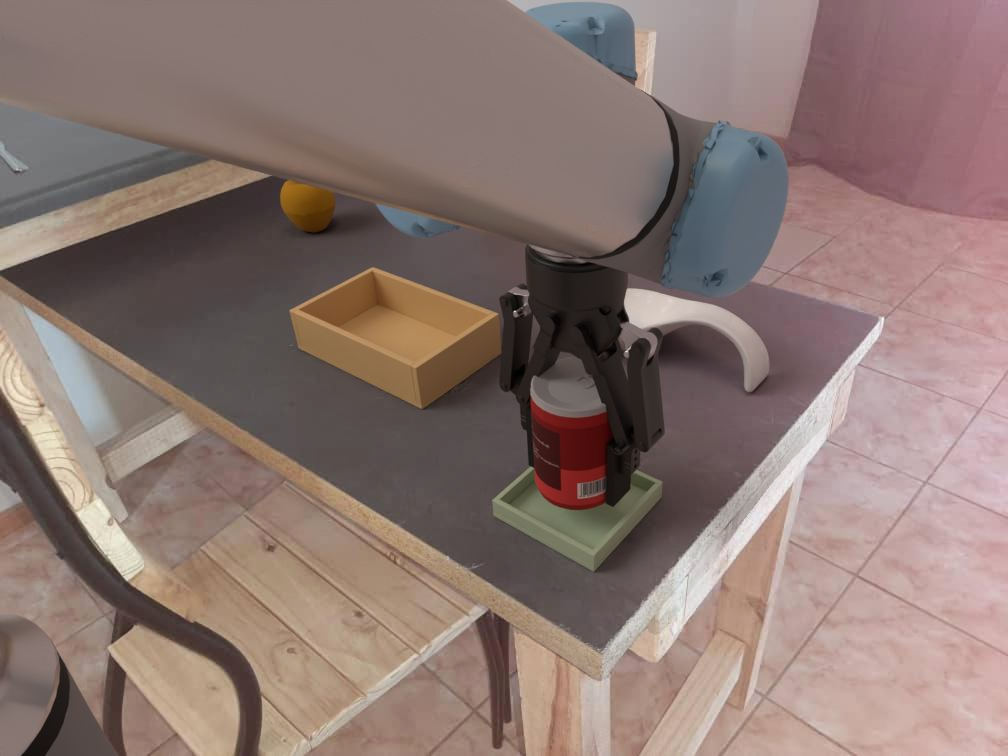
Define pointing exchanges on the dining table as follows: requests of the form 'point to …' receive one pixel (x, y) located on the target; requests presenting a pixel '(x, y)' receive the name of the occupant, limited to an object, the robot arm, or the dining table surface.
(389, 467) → the dining table surface
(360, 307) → the open wooden box
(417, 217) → the robot arm
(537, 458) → the canned food
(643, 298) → the spoon rest
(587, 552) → the tray
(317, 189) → the apple
